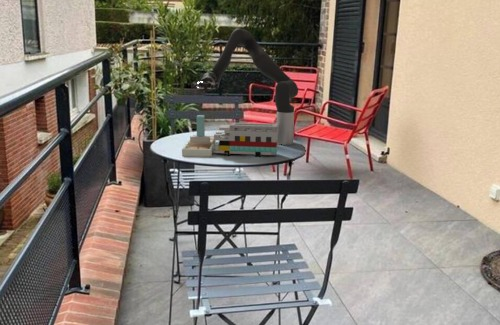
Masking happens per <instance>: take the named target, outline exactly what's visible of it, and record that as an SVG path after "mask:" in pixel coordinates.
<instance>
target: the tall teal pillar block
mask: <svg viewBox="0 0 500 325" xmlns="http://www.w3.org/2000/svg"><path fill="white" fill-rule="evenodd" d="M205 126H206V124H205V114H198V115H196V135H197V136H193V135H191V136H189V140H190V142H201V143H210V137H205V136H206V135H205V130H206V128H205Z"/></svg>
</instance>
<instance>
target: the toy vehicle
mask: <svg viewBox="0 0 500 325" xmlns="http://www.w3.org/2000/svg"><path fill="white" fill-rule="evenodd" d="M218 129H219V130H218V131H216V132H215V133H214V134H213V136H214V140H216V141H217V142H216V143H215V145H214V152H213V154H224V157H226V156H227V157H230V156H231V154H232V155H233V154H235V155H237V154H239V155H255V158H261V157H262V156H267V155H268V156H277V152H278V144H277V131H278V124H276V123H263V122H262V123H259V122H255V123H254V122H231V123H230V124H221V125H220V126H219V127H218Z"/></svg>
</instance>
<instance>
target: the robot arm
mask: <svg viewBox="0 0 500 325" xmlns="http://www.w3.org/2000/svg"><path fill="white" fill-rule="evenodd" d="M237 47H242V48H244V49H245V50H246V52H248V53H249V55H250V56H251V59H252V62H253V64H254V66H255V67H256V69H258V71H259V72H260V73H262V75H264V76H265V77H267V78H269V79H270V80H271V81H272V80H273V82H275V83H276V85H275V90H274V93H275V94H274V97H275V99H274V100H275V101H274V102H275V107H276V123H275V124H278V131H277V145H281V144H282V146H283V145H284V146H288V145H289V146H290V145H294V137H295V136H294V135H295V134H294V133H295V127H294V123H295V122H294V121H295V106H294V105H291V104H292V103H290V99H292V98H295V97H297V96H298V93H299V87H298V85H297V83H296V82H295V81H294V80H293V78H290V76H288V74H286V73H285V72H284V71H283V69H282V68H280V66H279V65H278V64H277V63H276V61H274V60H273V58H272V57H271V56H270V55H269V54H268V53H267V52H266V51H265V49H263V47H262V46H261V45H260V44H259V43H258V42H257V40H256V38H255V37H254V36H253V34H252V33H251V32H250V31H248V30H247V29H243V28H241V27H240V28H239V27H238V28H237V27H236V28H235V29H234V30H233V31H232V32H231V34H230V36H229V38H228V40H227V42H226V44H225V46H224V48H223V50H222V53H221V54H220V56H219V58H218V59H217V60H216V62H215V63H214V65H213V66H212V69H211V70H212V72H213V73H214V74H212V73H211V72H206V73H203V76H202V77H201V79H200V81H197V82H195V81H194V82H191V84H190V85H191V89H199V90H200V89H201V91H203V92H210V91H211V90H216V89H219V86H220V82H221V81H222V80H221V79H222V78H223V76H224V73H225V72H226V70H227V69H228V68H229V66H230V64H231V61H232V57H233V56H232V55H233V53H234V51H235V50H236V49H237Z"/></svg>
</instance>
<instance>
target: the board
mask: <svg viewBox="0 0 500 325" xmlns="http://www.w3.org/2000/svg"><path fill="white" fill-rule="evenodd" d="M192 136H197V134H196V135H192ZM205 137H210V143H201V142H190V139H189V140H188V142H187V144H188V149H189V147H198V149H199V147H208V149H210V147H211V145H215V143H216V141H217V140H214V135H205Z"/></svg>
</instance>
